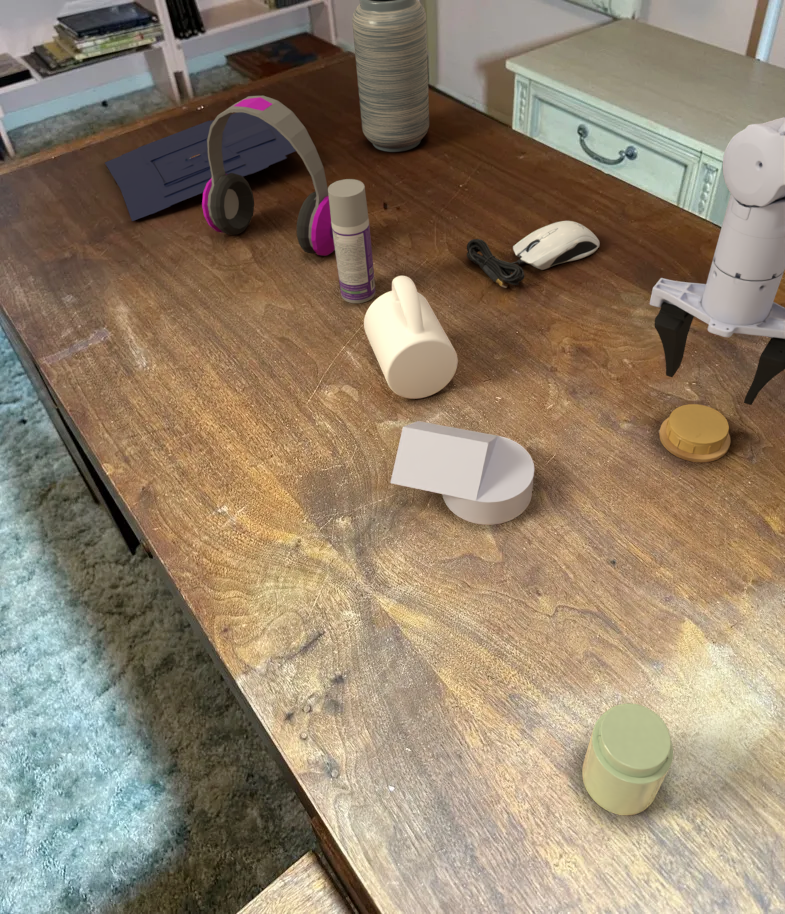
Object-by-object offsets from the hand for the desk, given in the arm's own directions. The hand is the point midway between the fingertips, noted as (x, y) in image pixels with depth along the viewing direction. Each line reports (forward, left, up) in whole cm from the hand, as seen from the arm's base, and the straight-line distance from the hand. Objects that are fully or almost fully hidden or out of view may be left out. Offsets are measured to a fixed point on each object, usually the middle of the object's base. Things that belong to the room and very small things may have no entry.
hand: (710, 384), depth 75 cm
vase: (+46, -68, -8) cm, 82 cm away
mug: (+32, -7, -8) cm, 33 cm away
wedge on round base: (+23, +10, -8) cm, 26 cm away
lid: (0, 0, -6) cm, 6 cm away
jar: (+8, +37, -8) cm, 38 cm away
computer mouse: (+18, -33, -8) cm, 39 cm away
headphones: (+57, -34, -8) cm, 66 cm away
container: (+42, -22, -8) cm, 48 cm away
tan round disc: (0, 0, -8) cm, 8 cm away
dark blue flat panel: (+77, -55, -8) cm, 95 cm away
